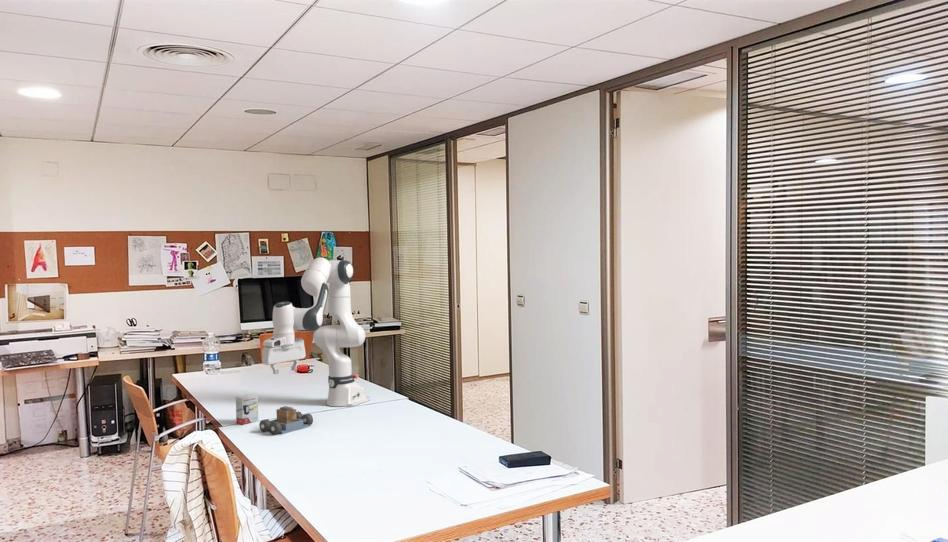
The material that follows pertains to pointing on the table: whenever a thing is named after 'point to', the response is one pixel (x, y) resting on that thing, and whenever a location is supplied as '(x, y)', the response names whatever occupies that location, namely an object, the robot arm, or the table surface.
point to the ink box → (246, 409)
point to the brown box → (286, 415)
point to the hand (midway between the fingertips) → (285, 372)
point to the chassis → (284, 428)
